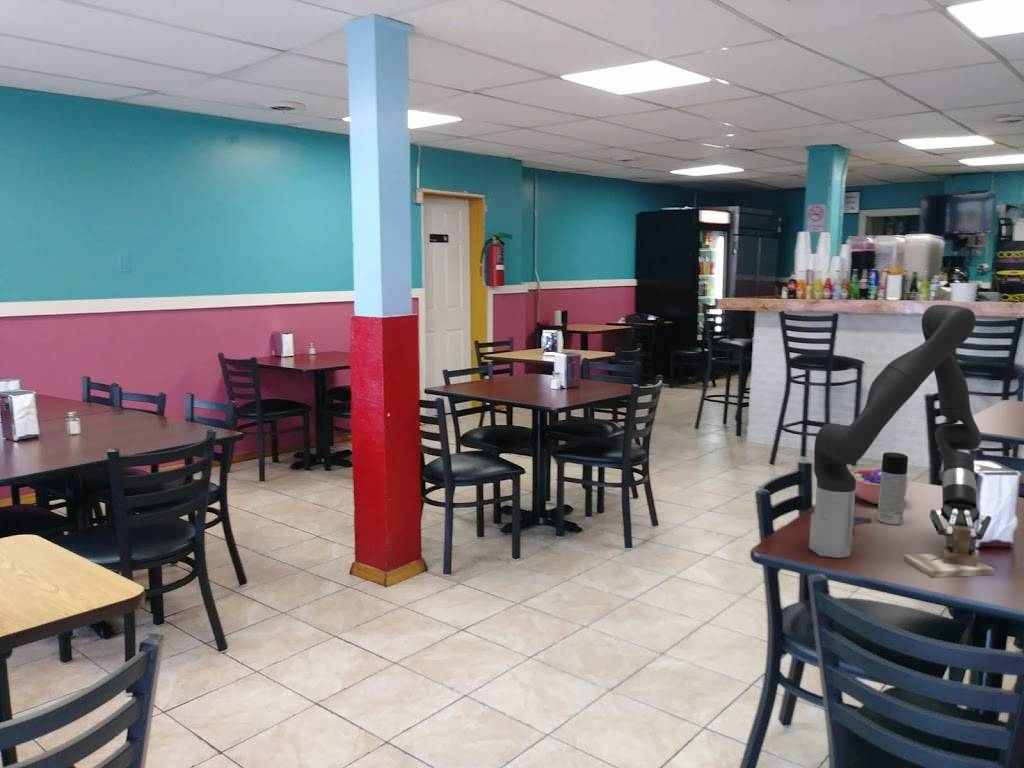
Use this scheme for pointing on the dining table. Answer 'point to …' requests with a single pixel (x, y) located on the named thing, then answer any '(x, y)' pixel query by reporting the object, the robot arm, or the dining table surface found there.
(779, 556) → the dining table surface
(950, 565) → the board
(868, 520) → the bracket
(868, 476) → the cell model
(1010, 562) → the dining table surface
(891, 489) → the spray can
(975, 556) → the brown wooden stepped block
